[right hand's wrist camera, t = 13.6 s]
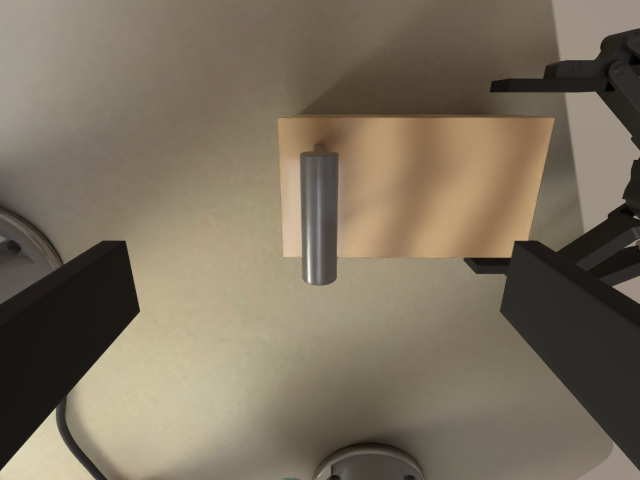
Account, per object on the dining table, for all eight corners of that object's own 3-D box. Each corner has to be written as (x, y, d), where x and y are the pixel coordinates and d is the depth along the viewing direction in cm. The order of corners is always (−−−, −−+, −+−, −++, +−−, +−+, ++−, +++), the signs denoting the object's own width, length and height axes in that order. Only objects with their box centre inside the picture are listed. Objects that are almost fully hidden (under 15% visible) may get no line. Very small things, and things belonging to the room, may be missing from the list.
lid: (284, 253, 27) (270, 309, 19) (279, 117, 24) (259, 122, 16) (518, 253, 27) (595, 310, 19) (547, 117, 24) (654, 122, 16)
